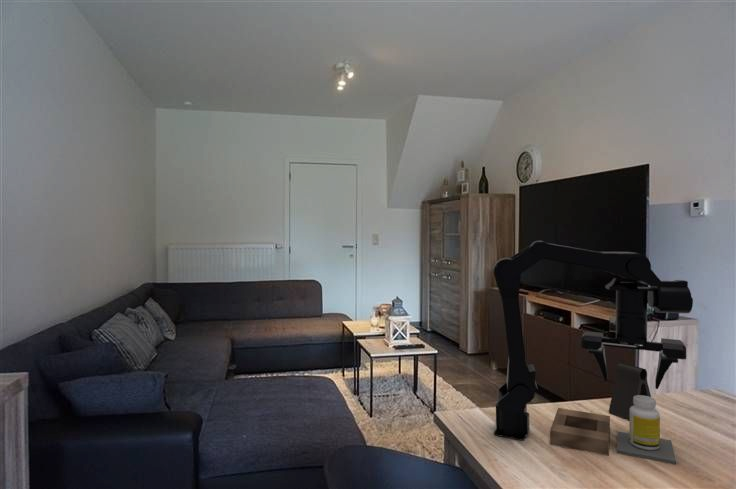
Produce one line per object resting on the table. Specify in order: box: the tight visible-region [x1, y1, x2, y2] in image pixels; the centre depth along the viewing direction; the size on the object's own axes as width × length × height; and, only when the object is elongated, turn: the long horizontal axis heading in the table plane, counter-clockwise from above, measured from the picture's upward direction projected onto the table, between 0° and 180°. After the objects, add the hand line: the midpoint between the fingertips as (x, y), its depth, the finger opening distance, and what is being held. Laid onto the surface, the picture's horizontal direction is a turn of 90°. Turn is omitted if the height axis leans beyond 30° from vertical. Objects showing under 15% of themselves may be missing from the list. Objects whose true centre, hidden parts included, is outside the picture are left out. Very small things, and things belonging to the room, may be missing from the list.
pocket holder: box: [549, 407, 611, 456], centre depth 100 cm, size 11×14×3 cm
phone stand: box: [608, 362, 652, 421], centre depth 111 cm, size 9×6×12 cm, turn 115°
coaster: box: [616, 430, 677, 465], centre depth 94 cm, size 10×10×1 cm
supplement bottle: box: [628, 395, 661, 450], centre depth 94 cm, size 5×5×10 cm
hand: (630, 384), depth 95 cm, fingers open, 9 cm apart
